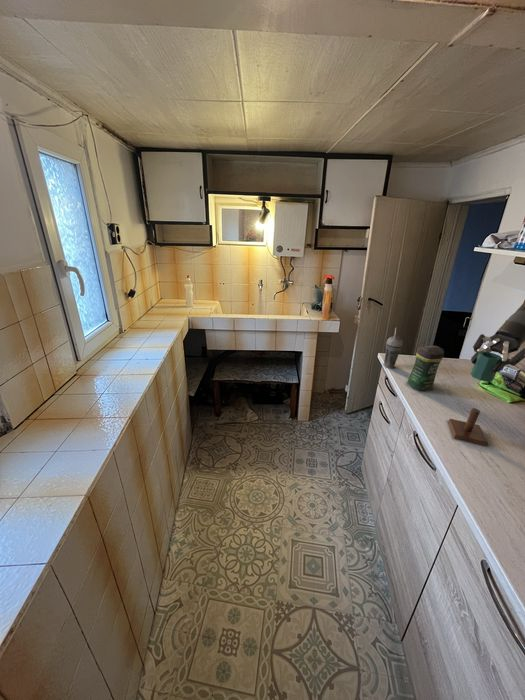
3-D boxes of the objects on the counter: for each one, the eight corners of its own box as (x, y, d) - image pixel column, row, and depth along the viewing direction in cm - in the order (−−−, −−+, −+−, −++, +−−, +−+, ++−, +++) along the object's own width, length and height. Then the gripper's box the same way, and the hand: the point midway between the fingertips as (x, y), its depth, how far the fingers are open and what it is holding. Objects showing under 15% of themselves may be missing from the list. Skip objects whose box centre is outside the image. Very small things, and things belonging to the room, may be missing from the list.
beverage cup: (399, 369, 134) (410, 330, 126) (384, 369, 134) (394, 330, 126) (392, 362, 141) (402, 325, 132) (378, 362, 141) (387, 324, 132)
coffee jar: (417, 392, 116) (430, 352, 108) (403, 383, 123) (415, 344, 115) (435, 389, 119) (449, 350, 111) (421, 380, 126) (433, 342, 118)
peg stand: (477, 428, 97) (488, 405, 93) (486, 446, 89) (497, 422, 85) (448, 421, 100) (456, 399, 96) (454, 438, 92) (463, 414, 88)
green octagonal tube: (488, 374, 95) (497, 353, 92) (494, 383, 90) (504, 360, 87) (469, 371, 97) (477, 350, 94) (473, 379, 92) (482, 357, 89)
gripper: (545, 342, 87) (509, 382, 87) (494, 327, 99) (462, 363, 99) (545, 328, 83) (506, 371, 83) (491, 314, 95) (458, 351, 95)
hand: (483, 366), depth 91 cm, fingers closed on green octagonal tube, 5 cm apart
